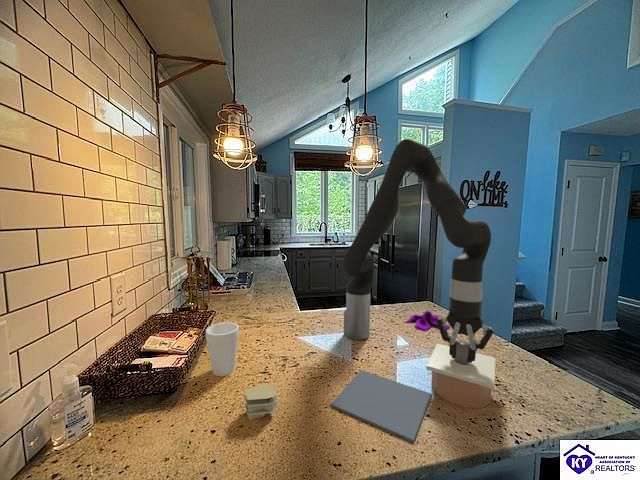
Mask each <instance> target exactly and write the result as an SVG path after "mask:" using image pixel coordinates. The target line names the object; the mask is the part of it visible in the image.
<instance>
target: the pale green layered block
mask: <svg viewBox="0 0 640 480" xmlns="http://www.w3.org/2000/svg"><path fill="white" fill-rule="evenodd" d="M244 392H245V394H244V399H245V402H244V407H245V411H246V414H247V417H248V420H249V421H251V420H255V419H258V418H262V417H265V416H266V414H270V413H274V412H275V411H276V409H277V408H278V404H277V403H276V401H277V399H278V396H277V393H278V391H277V390H276V389H275V388H274V387H273V386H272V385H271V384H269V383H261V384H258V385H256V386H253V387H250V388H247V389H244Z"/></svg>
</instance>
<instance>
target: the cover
mask: <svg viewBox="0 0 640 480" xmlns="http://www.w3.org/2000/svg"><path fill="white" fill-rule="evenodd" d="M449 349H450V345H445V344H440V343H437V344H436V345H435V347H434V349H433V351H432V354H431V355H430V357H429V359H428V361H427V364H426V369H425V370H426V371H430V372H432V371H434V372H437V373H440V374H444V375H447V376H451V377H454V378H458V379H461V380H464V381H468V382H471V383H475V384H478V385H482V386H485V387H488V388H491V390H492V389H493V390H494V389H495V381H496V380H495V378H496V377H495V376H496V375H495V374H496V373H495V372H496V371H495V370H496V357H495V356H491V355H487V354H482V353H479V352H476V357H475V361H472V363H469V349H470V342H469V341H465V340H456V341H455V359H454V358H452V356H451V355H450V354H449Z"/></svg>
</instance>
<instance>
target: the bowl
mask: <svg viewBox="0 0 640 480" xmlns="http://www.w3.org/2000/svg"><path fill="white" fill-rule="evenodd" d="M431 386H432V388H433V390H434V391H435V393H436V394H437V395H438V396H440V397H442V398H443V399H444V400H445V401H446V402H449V403H452V404H454V405H458V406H460V407H464V408H473V409H474V408H475V409H477V408H479V409H482V408H483V407H486V406H487V405H490V404H491V402H492V401H491V399H492V388H488V387H485V386H482V385H478V384H475V383H471V382H468V381H464V380H461V379H458V378H454V377H451V376H447V375H444V374H440V373H437V372H434V371H431Z"/></svg>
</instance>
